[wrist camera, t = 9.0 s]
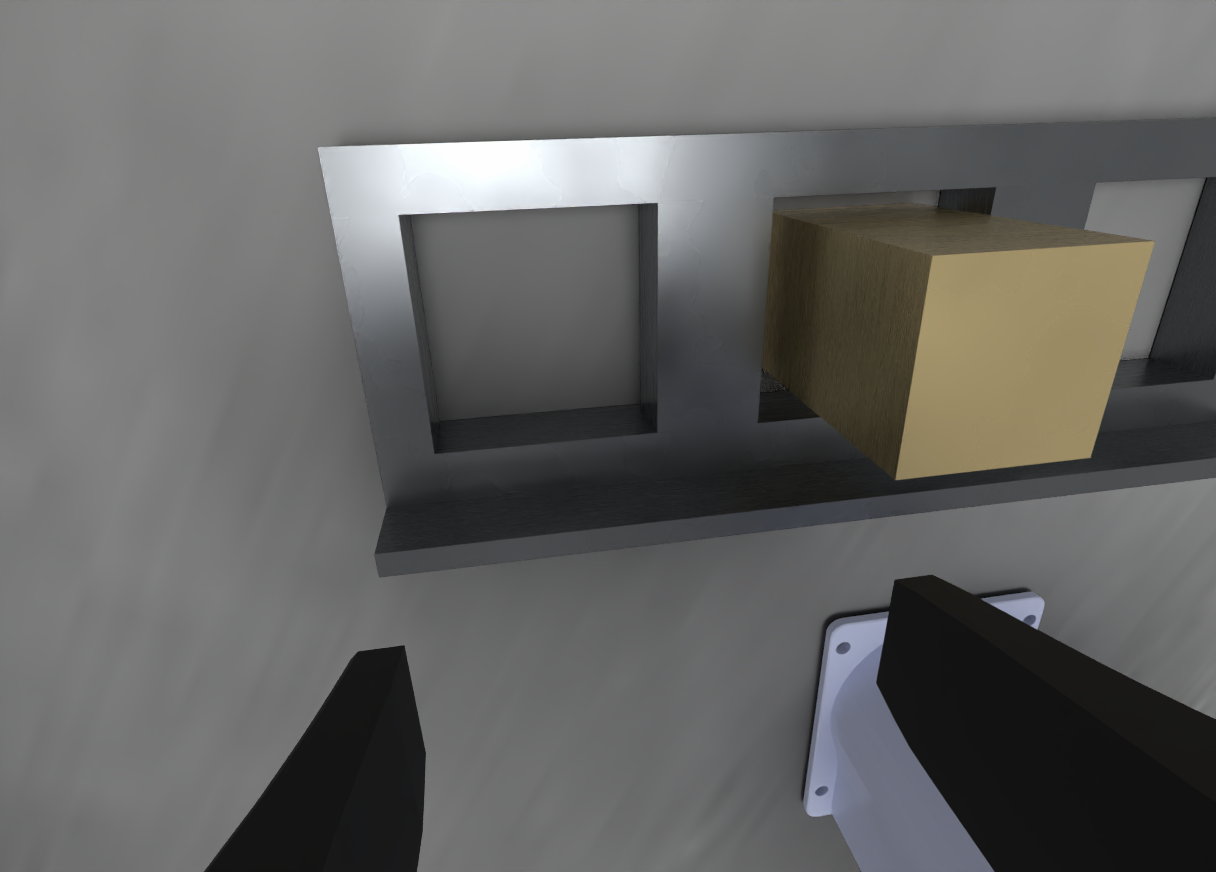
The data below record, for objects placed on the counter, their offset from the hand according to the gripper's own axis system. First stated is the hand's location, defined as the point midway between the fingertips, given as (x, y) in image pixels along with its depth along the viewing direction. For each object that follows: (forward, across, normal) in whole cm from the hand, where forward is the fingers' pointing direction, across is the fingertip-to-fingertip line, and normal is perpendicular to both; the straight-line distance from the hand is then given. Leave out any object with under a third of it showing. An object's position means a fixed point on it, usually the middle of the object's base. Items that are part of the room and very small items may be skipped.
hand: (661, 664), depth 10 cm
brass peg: (+9, -7, -3) cm, 12 cm away
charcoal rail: (+9, -7, -3) cm, 12 cm away
